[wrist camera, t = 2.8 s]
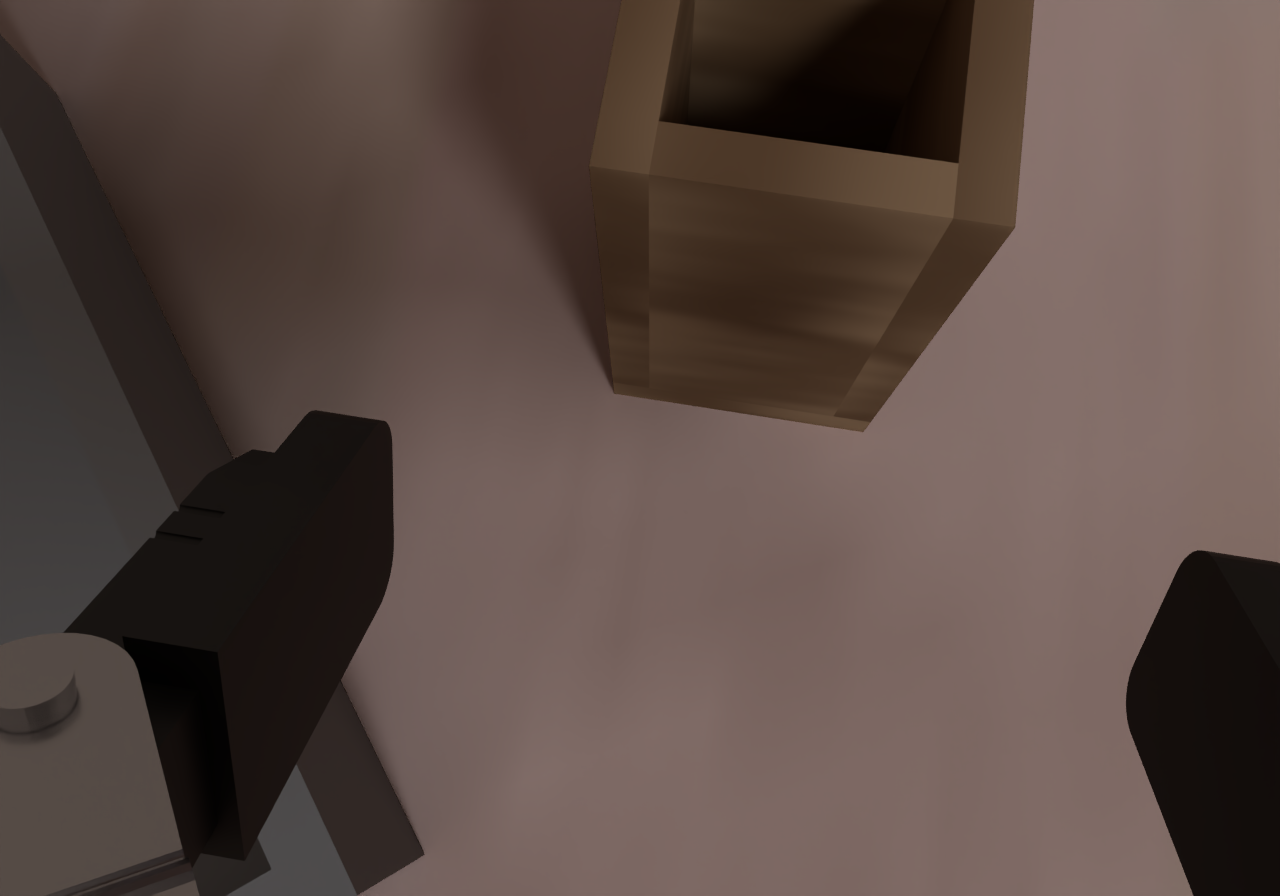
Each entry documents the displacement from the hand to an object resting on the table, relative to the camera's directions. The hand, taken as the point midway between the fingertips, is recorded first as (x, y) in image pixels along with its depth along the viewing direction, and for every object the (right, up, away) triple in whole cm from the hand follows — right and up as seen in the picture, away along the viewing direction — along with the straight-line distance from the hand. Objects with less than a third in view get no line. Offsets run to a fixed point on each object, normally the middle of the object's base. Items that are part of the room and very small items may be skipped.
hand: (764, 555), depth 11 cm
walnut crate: (+1, +5, +13) cm, 14 cm away
